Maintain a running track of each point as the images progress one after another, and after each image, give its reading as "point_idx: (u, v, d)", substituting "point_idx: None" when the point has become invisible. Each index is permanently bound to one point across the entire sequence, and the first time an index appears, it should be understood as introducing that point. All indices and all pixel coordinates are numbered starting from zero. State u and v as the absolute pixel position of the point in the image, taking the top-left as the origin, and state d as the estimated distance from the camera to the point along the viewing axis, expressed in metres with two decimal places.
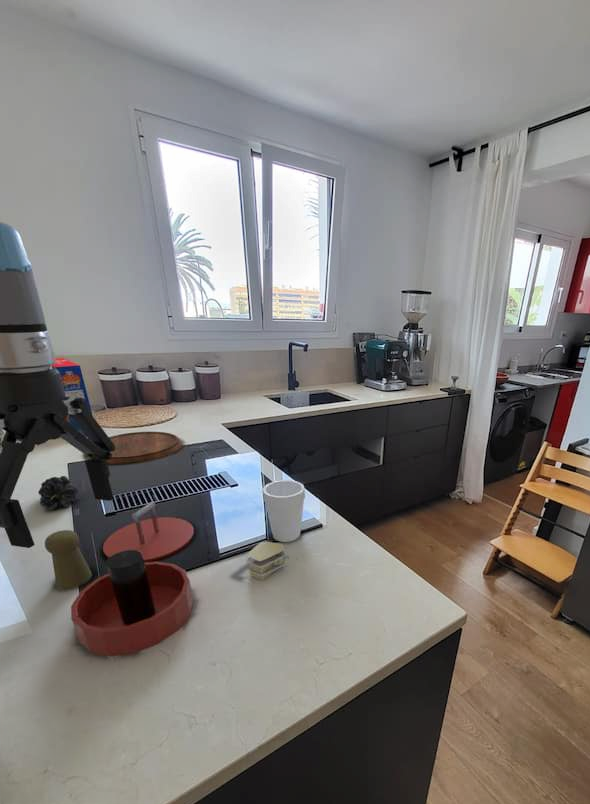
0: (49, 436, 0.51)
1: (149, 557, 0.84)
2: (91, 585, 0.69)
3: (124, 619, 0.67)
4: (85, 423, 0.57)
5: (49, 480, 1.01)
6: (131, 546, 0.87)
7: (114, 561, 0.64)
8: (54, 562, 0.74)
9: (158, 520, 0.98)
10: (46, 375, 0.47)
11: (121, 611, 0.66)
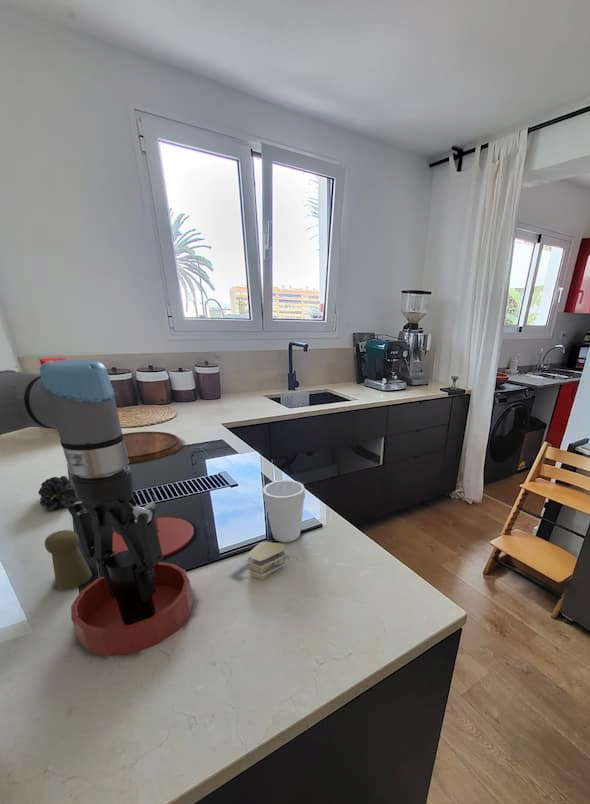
0: (109, 523, 0.60)
1: None
2: (91, 585, 0.69)
3: (124, 619, 0.67)
4: None
5: (49, 480, 1.01)
6: None
7: (114, 561, 0.64)
8: (54, 562, 0.74)
9: (158, 520, 0.98)
10: (81, 482, 0.55)
11: (121, 611, 0.66)
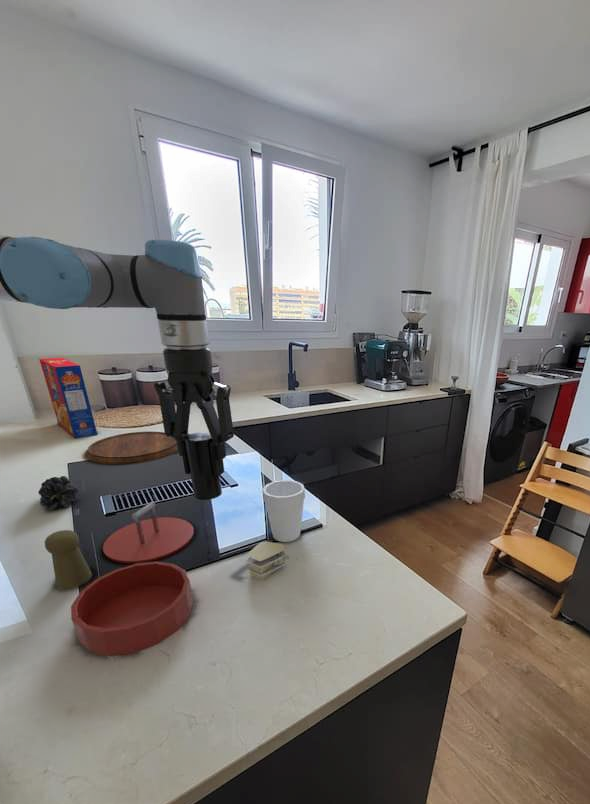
0: (191, 399, 0.69)
1: (149, 557, 0.84)
2: (91, 585, 0.69)
3: (198, 494, 0.75)
4: None
5: (49, 480, 1.01)
6: (131, 546, 0.87)
7: (192, 437, 0.72)
8: (54, 562, 0.74)
9: (158, 520, 0.98)
10: (173, 352, 0.64)
11: (195, 485, 0.75)
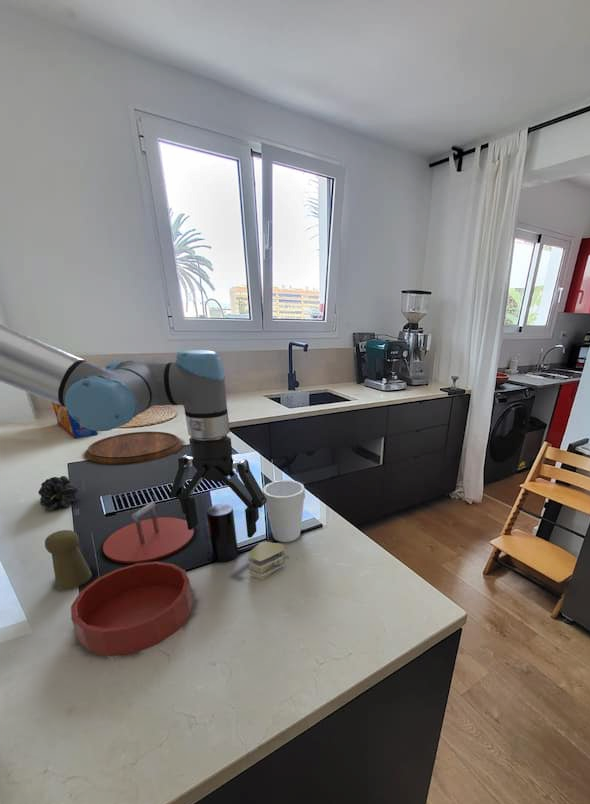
0: (212, 478, 0.78)
1: (149, 557, 0.84)
2: (91, 585, 0.69)
3: (217, 559, 0.84)
4: None
5: (49, 480, 1.01)
6: (131, 546, 0.87)
7: (213, 511, 0.81)
8: (54, 562, 0.74)
9: (158, 520, 0.98)
10: (199, 443, 0.72)
11: (215, 552, 0.83)
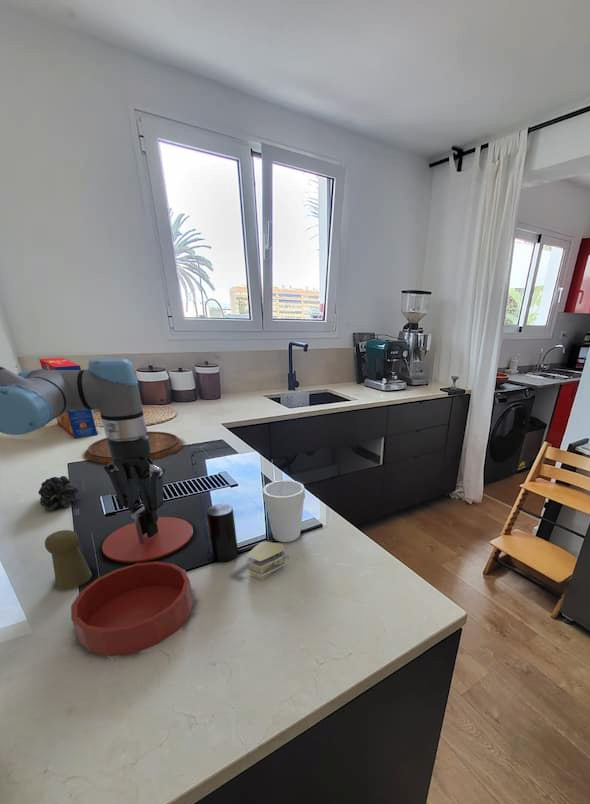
0: (132, 476, 0.84)
1: (148, 557, 0.84)
2: (91, 585, 0.69)
3: (217, 559, 0.84)
4: None
5: (49, 480, 1.01)
6: (130, 546, 0.87)
7: (213, 511, 0.81)
8: (54, 562, 0.74)
9: None
10: (114, 444, 0.78)
11: (215, 552, 0.83)
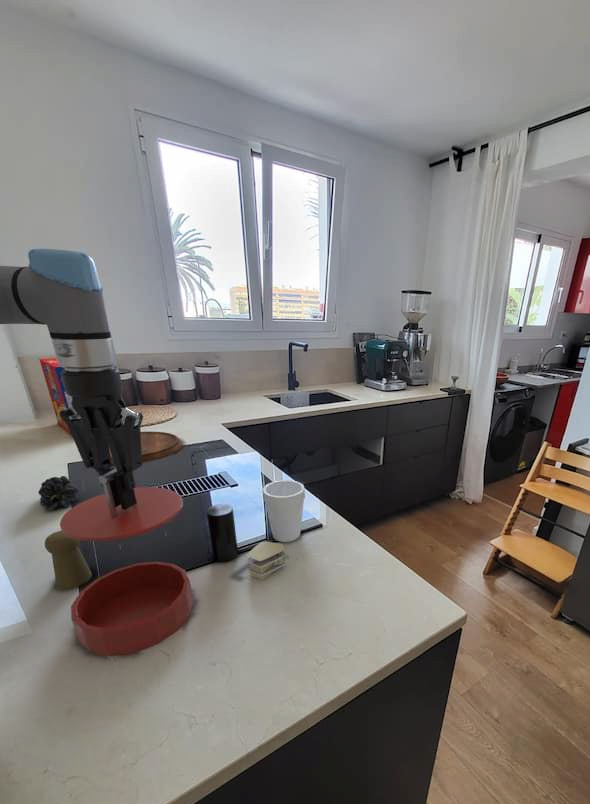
0: (98, 424, 0.62)
1: (121, 533, 0.62)
2: (91, 585, 0.69)
3: (217, 559, 0.84)
4: None
5: (49, 480, 1.01)
6: (98, 520, 0.66)
7: (213, 511, 0.81)
8: (54, 562, 0.74)
9: (137, 490, 0.76)
10: (70, 375, 0.56)
11: (215, 552, 0.83)
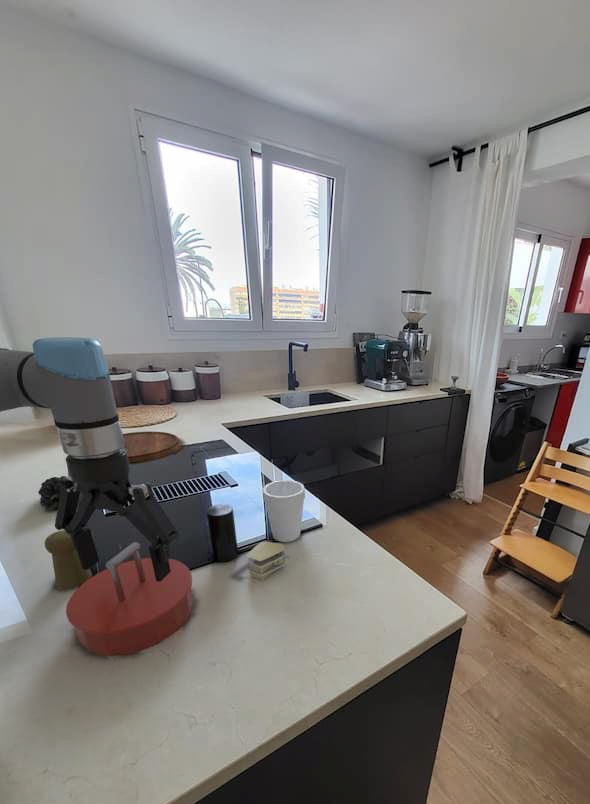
0: (104, 507, 0.59)
1: (129, 625, 0.60)
2: None
3: (217, 559, 0.84)
4: None
5: (49, 480, 1.01)
6: (106, 605, 0.63)
7: (213, 511, 0.81)
8: (54, 562, 0.74)
9: (145, 562, 0.74)
10: (76, 463, 0.54)
11: (215, 552, 0.83)
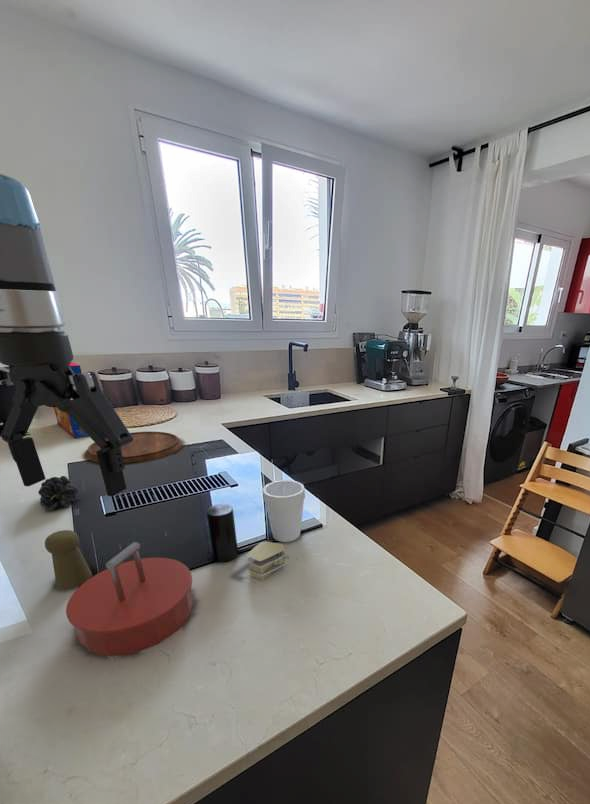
0: (42, 401, 0.50)
1: (129, 625, 0.60)
2: None
3: (217, 559, 0.84)
4: None
5: (49, 480, 1.01)
6: (106, 605, 0.63)
7: (213, 511, 0.81)
8: (54, 562, 0.74)
9: (145, 562, 0.74)
10: (0, 336, 0.45)
11: (215, 552, 0.83)
